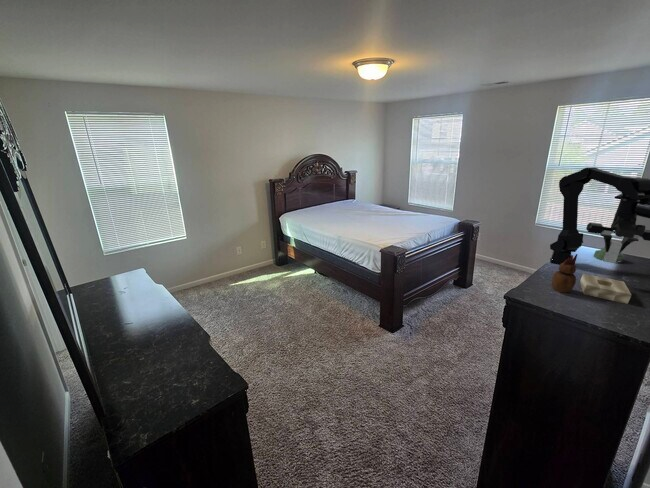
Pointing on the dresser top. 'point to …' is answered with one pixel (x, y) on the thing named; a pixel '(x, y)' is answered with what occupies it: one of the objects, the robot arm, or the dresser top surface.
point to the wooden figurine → (565, 276)
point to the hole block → (605, 288)
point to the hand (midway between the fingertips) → (612, 252)
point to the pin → (613, 251)
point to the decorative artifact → (601, 253)
